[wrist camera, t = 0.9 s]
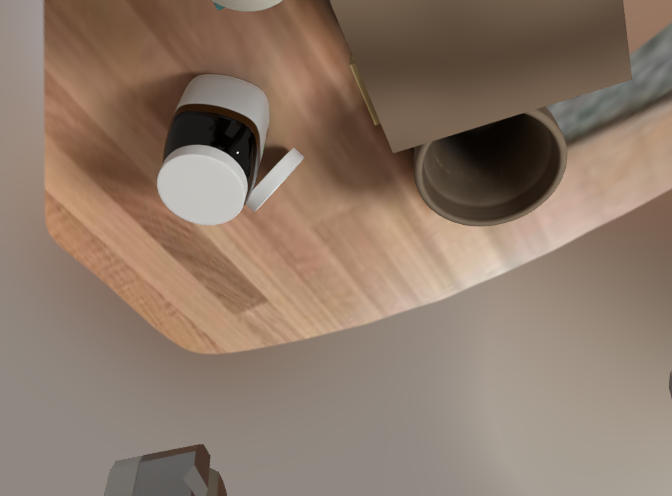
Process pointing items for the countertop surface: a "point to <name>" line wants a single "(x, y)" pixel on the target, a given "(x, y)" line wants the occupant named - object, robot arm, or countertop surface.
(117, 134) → the countertop surface
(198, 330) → the countertop surface
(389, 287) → the countertop surface
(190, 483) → the robot arm
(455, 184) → the flower pot
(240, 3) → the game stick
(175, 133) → the spread jar
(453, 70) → the walnut shelf
